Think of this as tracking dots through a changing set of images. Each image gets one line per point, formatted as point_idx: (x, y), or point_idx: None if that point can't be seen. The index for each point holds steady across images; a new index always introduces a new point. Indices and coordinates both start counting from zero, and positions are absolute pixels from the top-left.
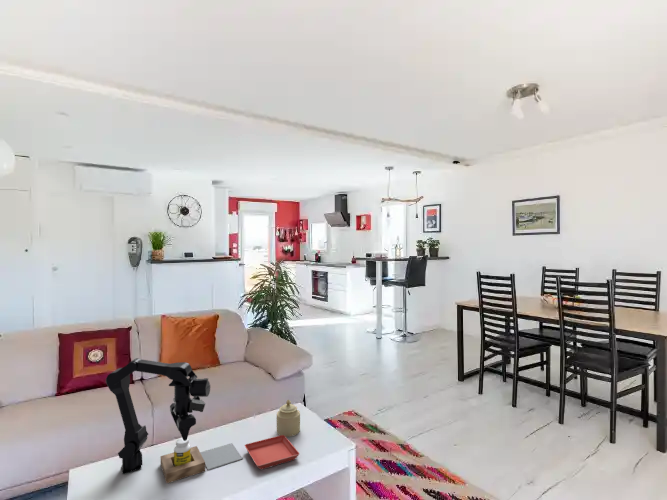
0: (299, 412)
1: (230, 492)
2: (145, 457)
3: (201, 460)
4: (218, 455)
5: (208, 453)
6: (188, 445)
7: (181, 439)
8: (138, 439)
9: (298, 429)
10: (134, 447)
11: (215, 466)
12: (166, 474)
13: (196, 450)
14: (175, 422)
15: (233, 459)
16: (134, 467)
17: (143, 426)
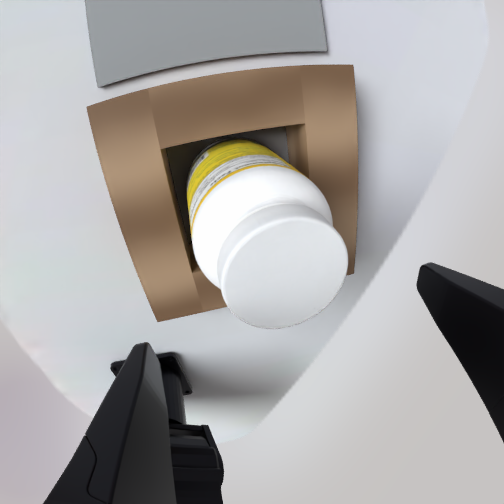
0: None
1: (483, 39)
2: (81, 348)
3: (320, 80)
4: None
5: (136, 26)
6: (293, 196)
7: (260, 290)
8: (219, 487)
9: None
10: (220, 461)
11: (317, 8)
12: (352, 271)
13: (157, 103)
14: (173, 486)
15: None
16: (177, 377)
17: None
